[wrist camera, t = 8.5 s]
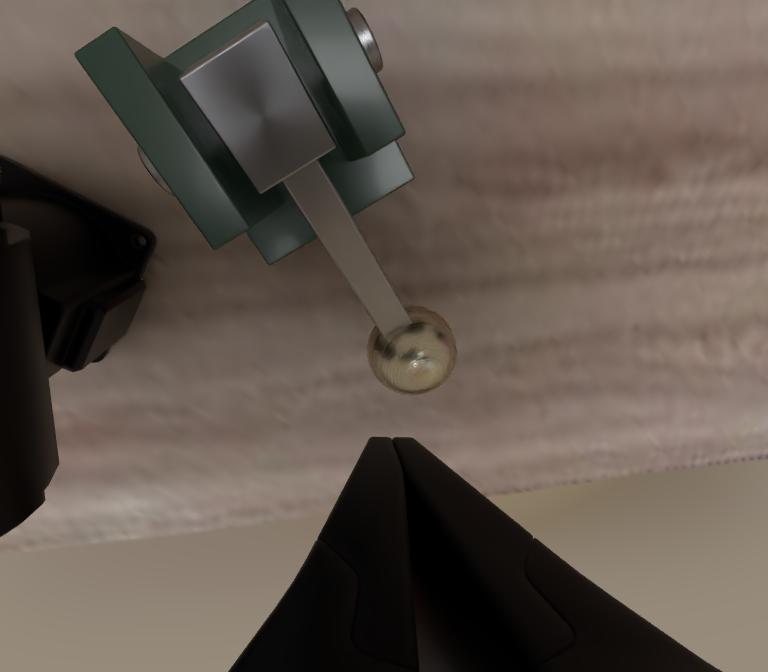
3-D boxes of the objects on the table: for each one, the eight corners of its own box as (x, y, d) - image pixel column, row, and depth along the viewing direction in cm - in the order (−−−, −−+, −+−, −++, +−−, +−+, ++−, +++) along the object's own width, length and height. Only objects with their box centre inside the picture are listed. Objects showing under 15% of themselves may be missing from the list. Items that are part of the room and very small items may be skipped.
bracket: (410, 177, 20) (482, 185, 11) (272, 261, 20) (225, 337, 11) (308, -23, 17) (284, -251, 8) (150, 80, 17) (-47, -19, 8)
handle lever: (450, 333, 19) (483, 383, 16) (382, 372, 19) (404, 428, 16) (280, 7, 11) (291, 4, 9) (172, 76, 12) (153, 94, 9)
